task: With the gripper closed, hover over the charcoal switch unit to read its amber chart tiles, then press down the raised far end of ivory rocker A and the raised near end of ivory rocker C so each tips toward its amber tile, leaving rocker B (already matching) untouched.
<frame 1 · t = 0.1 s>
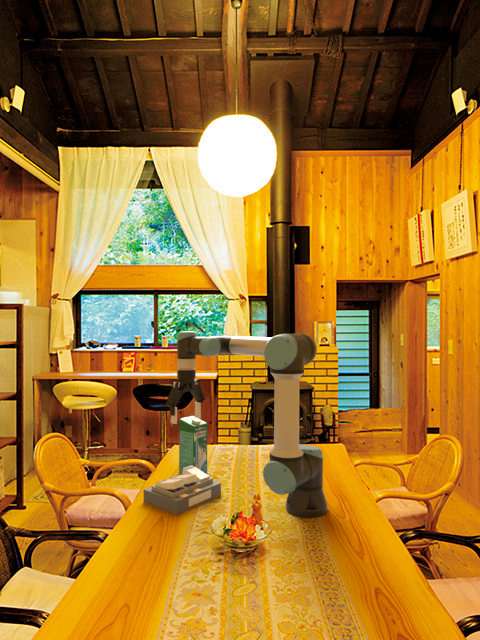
hand: (186, 420, 192), 28 cm above the table, fingers open, 13 cm apart
rocker a: (195, 474, 186), point 8 cm above the table, hinge at -14.0°
rocker b: (183, 479, 181), point 8 cm above the table, hinge at 14.0°
milk carton: (193, 473, 211), on the table
switch unit: (183, 499, 181), on the table
rocker c: (169, 484, 176), point 8 cm above the table, hinge at 14.0°
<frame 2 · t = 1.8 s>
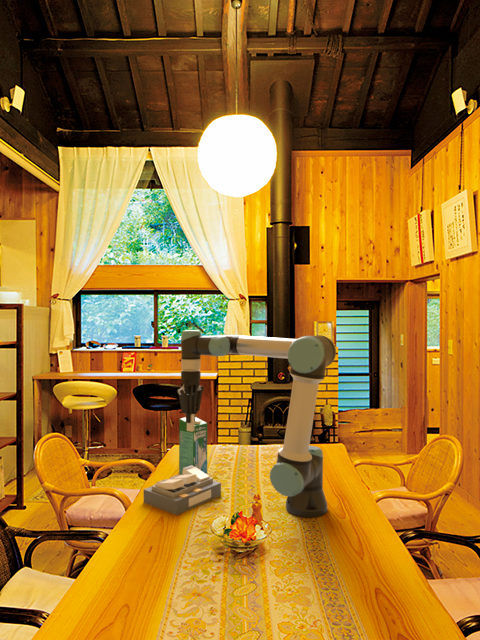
hand: (190, 430, 181), 26 cm above the table, fingers closed
nothing on the table moved.
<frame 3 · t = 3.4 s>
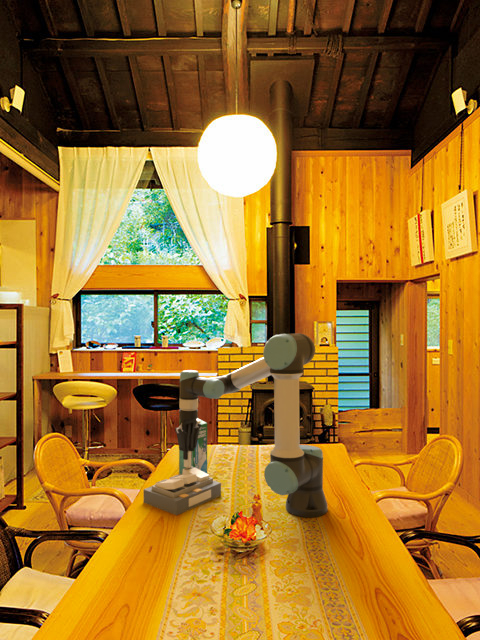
hand: (187, 466, 189), 10 cm above the table, fingers closed
rocker a: (195, 474, 186), point 8 cm above the table, hinge at -8.9°, touching gripper
everything else where it was.
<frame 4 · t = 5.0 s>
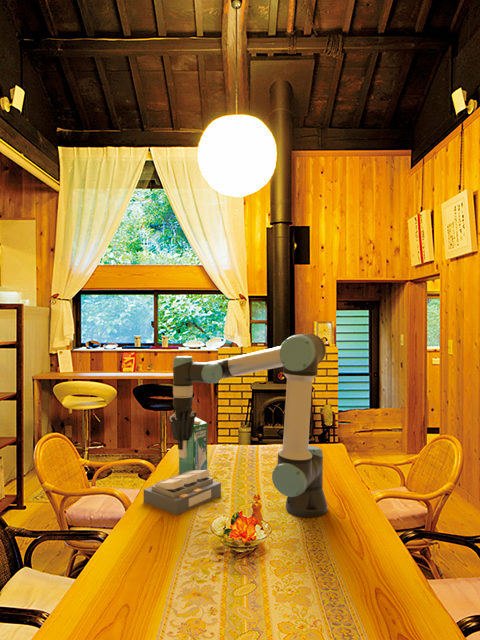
hand: (182, 457, 180), 16 cm above the table, fingers closed
rocker a: (195, 474, 186), point 8 cm above the table, hinge at 13.7°
everything else where it was.
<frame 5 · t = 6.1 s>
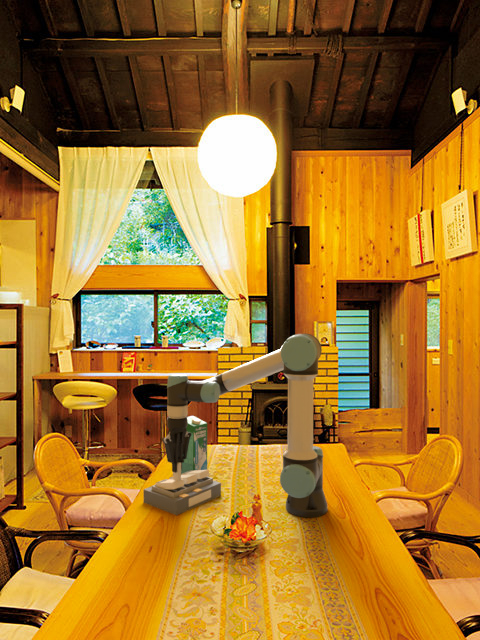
hand: (177, 480, 173), 10 cm above the table, fingers closed
rocker a: (195, 474, 186), point 8 cm above the table, hinge at 14.2°
rocker c: (169, 484, 176), point 8 cm above the table, hinge at 13.9°, touching gripper
everything else where it was.
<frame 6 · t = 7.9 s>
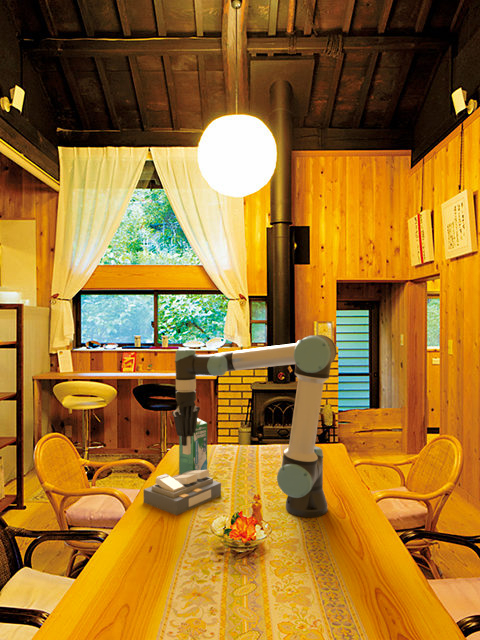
hand: (186, 453, 175), 19 cm above the table, fingers closed
rocker c: (169, 484, 176), point 8 cm above the table, hinge at -14.7°
everything else where it was.
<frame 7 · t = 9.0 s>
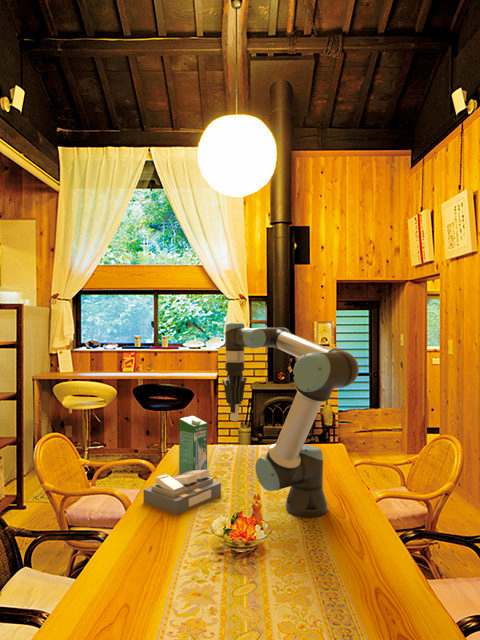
hand: (234, 420, 186), 29 cm above the table, fingers closed
rocker c: (169, 484, 176), point 8 cm above the table, hinge at -14.3°
everything else where it was.
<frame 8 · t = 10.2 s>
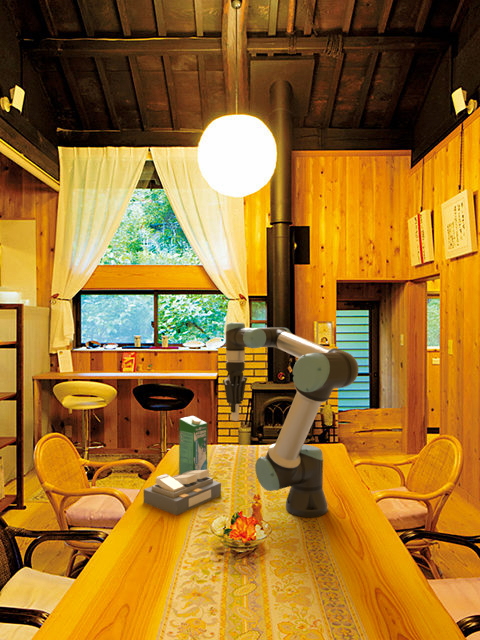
hand: (235, 420, 187), 29 cm above the table, fingers closed
nothing on the table moved.
at the end: rocker a at +14° (first picture: -14°); rocker c at -14° (first picture: +14°); rocker b at +14° (first picture: +14°) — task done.
